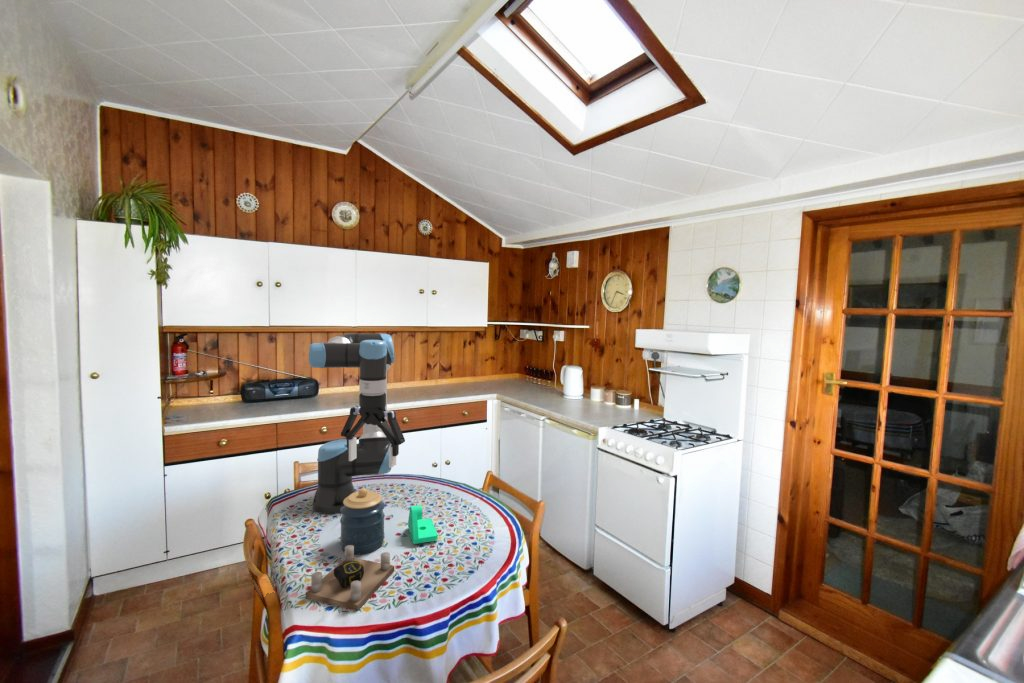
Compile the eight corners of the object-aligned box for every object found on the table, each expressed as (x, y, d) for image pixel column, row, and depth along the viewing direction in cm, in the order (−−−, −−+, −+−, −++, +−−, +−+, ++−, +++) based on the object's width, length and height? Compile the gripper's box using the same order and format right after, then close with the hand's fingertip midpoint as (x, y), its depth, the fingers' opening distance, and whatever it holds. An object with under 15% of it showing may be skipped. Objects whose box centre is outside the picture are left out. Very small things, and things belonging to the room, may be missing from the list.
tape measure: (332, 578, 116) (332, 565, 116) (358, 569, 121) (358, 556, 120) (340, 592, 111) (340, 578, 111) (367, 582, 115) (367, 569, 115)
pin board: (305, 598, 110) (305, 577, 110) (347, 561, 127) (347, 543, 126) (357, 611, 107) (357, 589, 106) (394, 571, 123) (394, 552, 123)
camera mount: (438, 543, 138) (438, 511, 138) (413, 547, 136) (413, 515, 135) (430, 525, 150) (431, 496, 149) (408, 528, 147) (408, 498, 146)
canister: (372, 529, 146) (372, 477, 144) (392, 544, 136) (392, 489, 135) (333, 542, 136) (333, 487, 135) (351, 560, 127) (351, 501, 126)
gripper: (328, 391, 129) (328, 461, 131) (404, 400, 122) (403, 473, 124) (344, 386, 136) (344, 452, 138) (417, 394, 129) (416, 464, 131)
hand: (372, 462), depth 131 cm, fingers open, 13 cm apart
